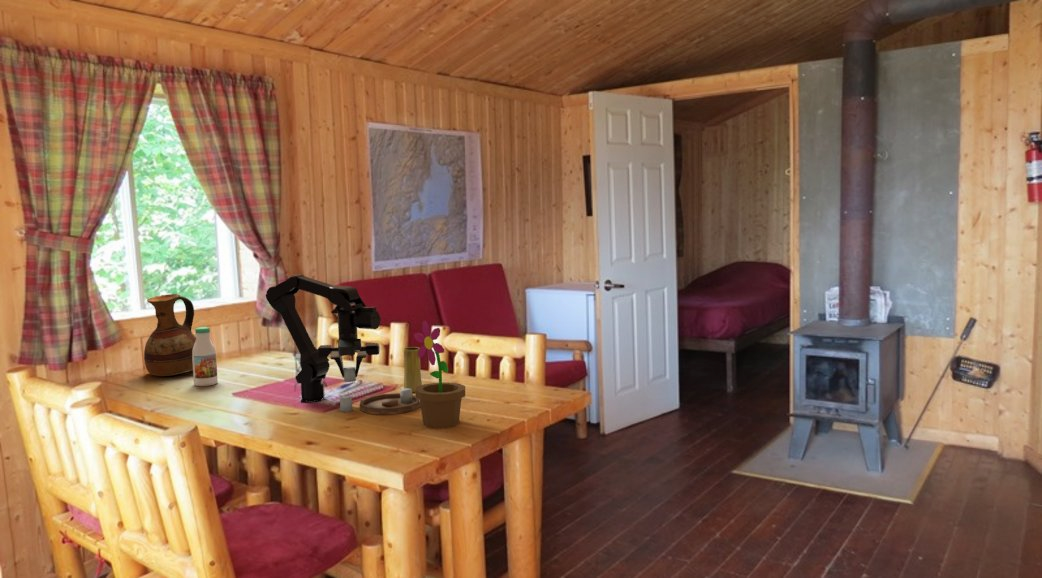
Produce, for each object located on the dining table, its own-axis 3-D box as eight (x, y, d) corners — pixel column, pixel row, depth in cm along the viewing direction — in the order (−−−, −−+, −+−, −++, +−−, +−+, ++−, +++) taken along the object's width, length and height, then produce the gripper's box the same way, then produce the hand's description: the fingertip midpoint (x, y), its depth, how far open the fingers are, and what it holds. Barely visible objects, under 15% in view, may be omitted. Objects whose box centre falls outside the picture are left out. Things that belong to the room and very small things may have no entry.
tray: (357, 416, 227) (357, 410, 227) (361, 400, 245) (361, 394, 245) (420, 413, 229) (420, 407, 229) (419, 397, 248) (419, 392, 247)
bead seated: (400, 404, 238) (400, 391, 237) (400, 401, 241) (400, 388, 241) (412, 403, 238) (411, 390, 238) (412, 400, 242) (411, 388, 241)
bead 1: (343, 382, 239) (343, 369, 238) (344, 379, 242) (344, 367, 242) (355, 381, 239) (355, 369, 239) (356, 379, 243) (355, 366, 242)
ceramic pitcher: (134, 376, 284) (128, 295, 281) (183, 365, 301) (178, 289, 298) (166, 382, 274) (161, 298, 270) (215, 370, 291) (210, 292, 287)
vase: (418, 393, 253) (417, 350, 252) (401, 392, 255) (399, 349, 253) (424, 388, 259) (423, 346, 258) (407, 387, 261) (406, 346, 259)
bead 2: (339, 412, 232) (339, 399, 231) (341, 409, 235) (340, 396, 235) (352, 411, 232) (351, 398, 232) (353, 408, 236) (352, 395, 235)
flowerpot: (405, 424, 218) (402, 319, 215) (443, 413, 229) (440, 313, 225) (439, 434, 209) (436, 324, 205) (477, 422, 219) (475, 318, 216)
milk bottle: (189, 385, 268) (185, 329, 265) (205, 380, 275) (202, 325, 273) (206, 387, 265) (202, 330, 263) (222, 382, 272) (219, 326, 270)
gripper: (313, 333, 229) (316, 384, 231) (377, 330, 232) (379, 381, 234) (318, 327, 240) (320, 376, 242) (378, 325, 243) (380, 373, 245)
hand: (349, 377), depth 240 cm, fingers closed on bead 1, 4 cm apart
